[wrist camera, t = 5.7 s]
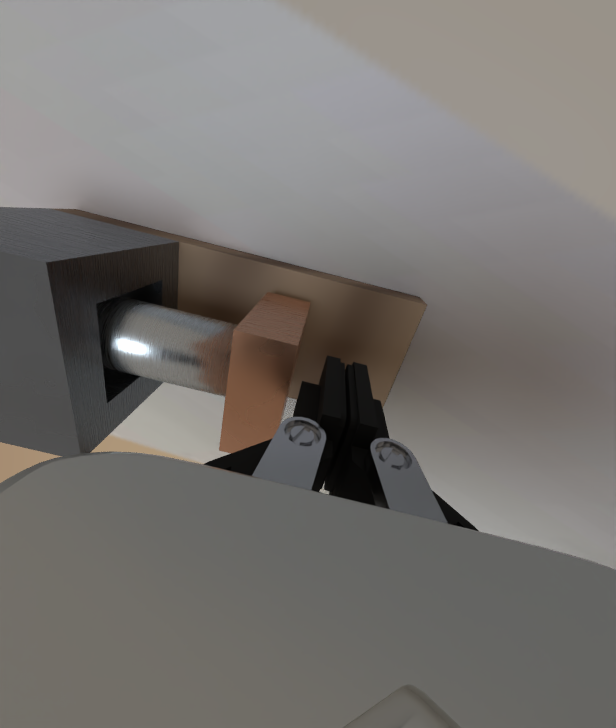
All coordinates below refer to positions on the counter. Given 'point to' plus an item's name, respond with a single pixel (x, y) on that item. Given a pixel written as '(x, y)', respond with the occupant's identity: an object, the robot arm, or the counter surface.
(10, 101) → the counter surface
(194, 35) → the counter surface
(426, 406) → the counter surface
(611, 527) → the counter surface
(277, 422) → the shaft
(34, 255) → the shaft frame
